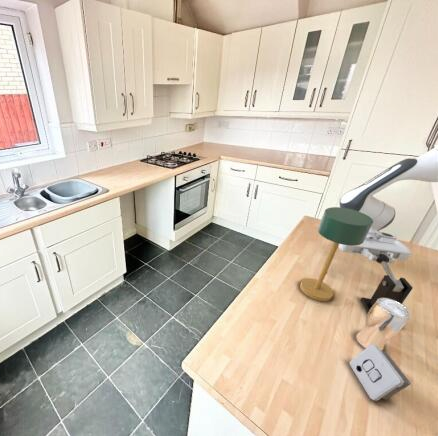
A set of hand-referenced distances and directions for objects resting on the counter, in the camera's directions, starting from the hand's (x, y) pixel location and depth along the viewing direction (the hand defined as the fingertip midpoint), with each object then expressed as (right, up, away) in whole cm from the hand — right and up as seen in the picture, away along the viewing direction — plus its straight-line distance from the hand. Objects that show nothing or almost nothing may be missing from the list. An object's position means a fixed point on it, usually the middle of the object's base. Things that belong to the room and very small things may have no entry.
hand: (382, 260), depth 82 cm
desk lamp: (-18, -12, +7) cm, 23 cm away
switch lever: (-1, -4, -2) cm, 5 cm away
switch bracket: (-3, -17, -1) cm, 17 cm away
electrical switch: (-23, -28, -20) cm, 41 cm away
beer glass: (-15, -22, -11) cm, 29 cm away
